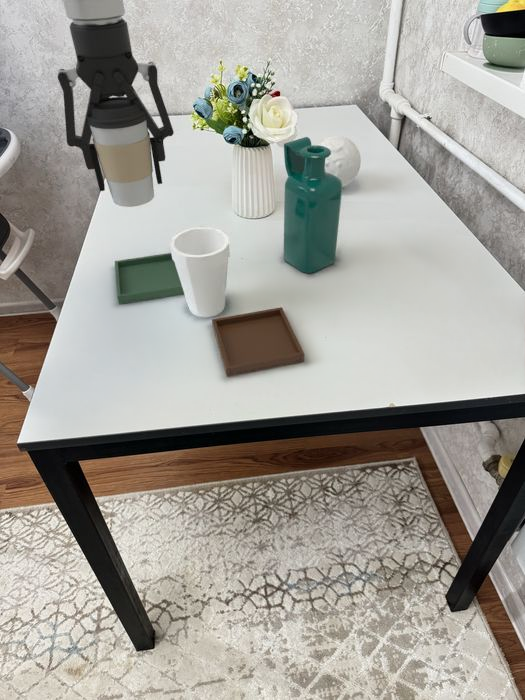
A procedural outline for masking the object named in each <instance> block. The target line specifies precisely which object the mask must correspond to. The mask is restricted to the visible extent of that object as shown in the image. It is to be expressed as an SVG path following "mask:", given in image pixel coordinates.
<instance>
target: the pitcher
mask: <svg viewBox="0 0 525 700" xmlns="http://www.w3.org/2000/svg"><path fill="white" fill-rule="evenodd" d="M330 155H331V150H330V149H329V148H327V147H324V146H319V145H318V144H316V145H313V144H312V141H311V138H310V137H308V136H304V137H301V138H298V139H293V140H291V141H287V142H285V143H283V157H284V166H285V171H286V174H287V178H286V180H285V182H284V203H283V204H284V210H283V259H284V261H285V262H286V263H288V264H289V265H291V266H293V267H294V268H295V269H297V270H298V271H301V272H302V273H305V274H313V273H315V272H318V271H320V270H322V269H325V268H326V267H328V266H330V265H333V264H334V263H335V261H336V255H337V245H338V244H337V243H338V236H339V235H338V234H339V226H340V217H341V216H340V214H341V204H342V194H343V188H342V182H341V180H340V179H339V178H338V177H336V176H334V175H332V174H330V173H328V172H326V171H325V158H327V157H329V156H330Z"/></svg>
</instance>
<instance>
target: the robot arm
mask: <svg viewBox="0 0 525 700" xmlns="http://www.w3.org/2000/svg"><path fill="white" fill-rule="evenodd" d="M62 2H63V6H64V10H65V14H66V17H67V18H68V19H69V20H72V22H71V23H70V25H69V31H70V35H71V39H72V43H73V48H74V51H75V56H76V65H75V67H74V68H69V69H64V68H60V69H59V70H58V73H57V80H58V82H59V85H60V87H61V89H62V92H63V106H64V119H65V121H64V122H65V135H66V136H65V137H66V144H67V146H68V147H71V148H72V147H76V148H79V149H80V150H81V152H82V156H83V159H84V164H85V167H86V168H87V170H89V171H90V170H94V173H95V178H96V182H97V184H98V190H99V192H104V191H105V190H106V188H105V181H104V176H103V171H102V167H101V164H100V161H99V158H98V155H97V151H96V148H95V145H94V143H91V139H92V131H91V128H90V125H88V121H89V120H88V119H87V117H88V116H91V114H92V109H93V108H97V107H98V104H99V99H100V97H102V98H112V97H127V98H128V99H129V101H130V102H131V103H132V104H136V105H137V106H138V108H139V109H140V111H144V112H145V116H146V117H147V120H146V123H147V128H148V132H149V133H150V134H151V135H152V137H151V136H150V145H151V156H152V162H153V167H154V172H155V178H156V182H157V185H162V184H163V179H162V172H161V166H160V162H165V161H166V152H165V146H164V140H165V139H166V138H168V137H172V136H173V135H174V132H175V131H174V128H173V126H172V123H171V120H170V116H169V114H168V110H167V108H166V105H165V102H164V99H163V95H162V93H161V90H160V87H159V83H158V68H157V66H156V64H155V62H153V61H149V62H148V63H144V62H143V63H141V62H137V60H136V58H135V57H134V56H133V51H132V45H131V38H130V32H129V26H128V22H127V21H126V20H125V19H124V18H123V16H124V15H125V14H126V9H125V3H124V0H62ZM138 73H139V74H141V76H142V79H143V80H144V81H145V82H148V86H149V89H150V91H151V95H152V97H153V100H154V103H155V106H156V108H157V112H158V114H159V118H160V120H161V123H162V126H161V127H159V126H158V124H157V123H156V121H155V120H154V119H153V117H152V116H151V114H150V112H149V111H148V109H147V107H146V106H145V104H144V103H143V101H142V99H141V98H140V96H139V94H138V93H137V91H136V90H135V88H134V86H133V83H134V81H135V79H136V77H137V74H138ZM78 78H79V79H80V80H81V81H82V82H83V83H84V84H85V85H86V86H87V87H88V89H90V92H89V97H88V101H87V107H86V112H85V117H84V122H83V126H82V130H81V135H77V134H76V133H77V132H76V119H75V118H76V117H75V116H76V115H75V102H74V101H75V100H74V98H75V97H74V88H75V87H76V86H77V85H76V84H77V79H78Z"/></svg>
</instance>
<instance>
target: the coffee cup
mask: <svg viewBox="0 0 525 700" xmlns="http://www.w3.org/2000/svg"><path fill="white" fill-rule="evenodd" d="M87 119H88V120H89V121H88V125H90V128H91V131H92V135H91V137H92V142H93V144H94V145H95V148H96V151H97V155H98V159H99V163H100V168H101V171H102V174H103V175H104V176H103V177H104V179H105V180H106V183H107V186H108V189H109V192H110V196H111V199H112V202H113V203H114V205H117V206H119V207H125V208H127V207H128V208H133V207H139V206H142V205H146V204H148V203H149V202H151V201H152V200H153V199H154V198H155V189H154V177H153V172H154V168H153V167H154V166H153V155H152V149H151V143H150V138H151V135H150V134H151V132H150V131H149V129H148V128H147V123H146V120H147V117H146V116H145V112H144V111H140V109H139V108H138V106H137V105H136V104H132V103H131V102H130V101H129V99H128V98H127V96H123V97H117V96H111V97H109V98H102V97H100V99H99V104H98V107H97V108H93V109H92V114H91V116H88V117H87Z"/></svg>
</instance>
